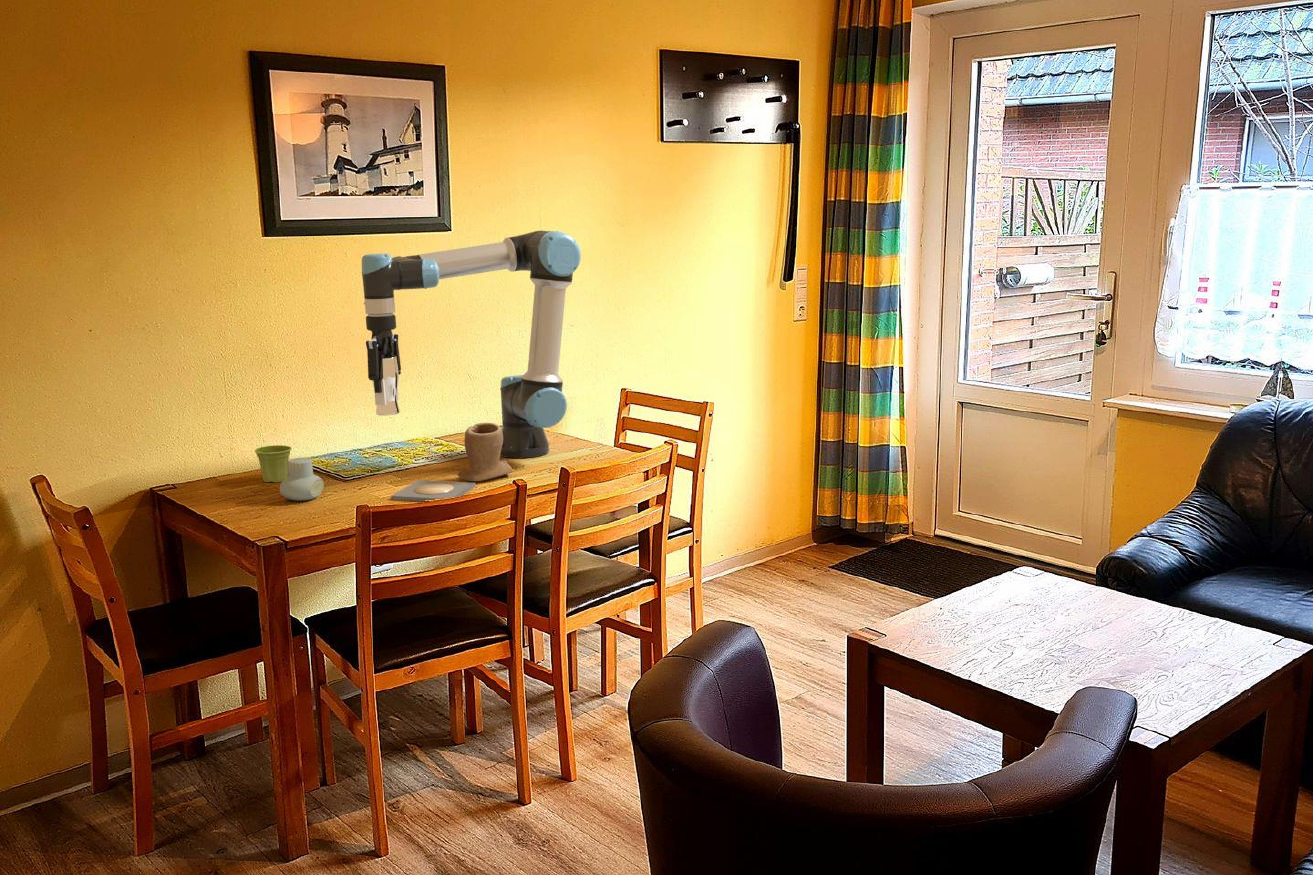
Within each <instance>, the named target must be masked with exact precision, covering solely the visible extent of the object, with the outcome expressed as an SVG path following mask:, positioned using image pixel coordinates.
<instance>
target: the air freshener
mask: <svg viewBox="0 0 1313 875" xmlns="http://www.w3.org/2000/svg"><path fill="white" fill-rule="evenodd" d="M313 468H314V467H313V459H311V458H310V457H295V458H291V459H289V461H288V477H287V478H285V479H284V480H283V481H282V482H281V483H280V486H279V493H280V494H281V496H283V497H284V498H285V499H288V500H290V501H296V502H301V501H302V502H303V501H304V502H305V501H311V500H314V499H316V498H317V497H319V496H320V495H321V493H322V492H323V490H324V487H325V486H324V484H325V483H324V480H323V479H322V478H321V477H320V476H319V475H316V474H314V469H313Z"/></svg>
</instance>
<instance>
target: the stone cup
mask: <svg viewBox="0 0 1313 875" xmlns="http://www.w3.org/2000/svg"><path fill="white" fill-rule="evenodd" d="M463 441H464V448H465V449H464V450H465V453H466V455H467V458H468V463H469V467H468V468H465V469H462V470H459V471H458V472H457V476H458V477H459V478H460V479H462V480H465V481H469V482H481V481H485V480H490V479H494V478H497V477H498V478H499V477H501V476H505V475H508V474H511V473H513V471H514V470H513V468H512V466H510V464H509V463H508V461H507V460H506V459H500V458H501V456H500V453H501V448H502V445H503V432H502V427H501V426H500V424H497V423H494V422H479V423H476V424H474V425H473V426H468V428H467V429H466V430H465V433H464V440H463Z"/></svg>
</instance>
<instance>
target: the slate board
mask: <svg viewBox="0 0 1313 875" xmlns="http://www.w3.org/2000/svg"><path fill="white" fill-rule="evenodd" d="M474 488H476V482H470V481H469V482H466V481H447V480H431V479H430V480H426V479H418V480H416V481H413V482H412V483H411V484H409V485H407V486H406V487H404V488H402V489H401V490H399V491H397V492H395V493H393V494H392V495H391V496H390V498H391V500H393V501H406V502H407V501H409V502H410V501H411V502H424V501H425V500H435V499H445V498H452V497H459V498H460V497H461V496H464V495H465V494H467V493H468V492H469V491H471V490H473V489H474Z"/></svg>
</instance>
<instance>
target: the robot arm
mask: <svg viewBox="0 0 1313 875" xmlns="http://www.w3.org/2000/svg"><path fill="white" fill-rule="evenodd" d="M581 255H582V254H581V249H580V246H579V244H578V242H577V241H576V240H575V239H574V238H573V237H572V236H571V235H569V234H568V233H564V232H562V231H558V230H557V231H553V230H552V231H551V230H535V231H531V232H527V233H524V234H519V235H514V236H510V237H504V239H503V241H501V242H493V243H487V244H481V245H474V246H467V247H460V248H453V249H448V250H447V249H446V250H441V251H433V252H428V253H420V254H416V255H415V254H413V255H407V256H406V255H405V256H394V257H392V256H391V254H390V253H368V254H365V255H363V256H362V257H361V276H362V285H363V286H362V287H363V295H364V296H363V298H364V301H363V306H364V309H365V310H364V311H365V314H366V315H367V316H365V324H366V325H365V326H366V330H367V331H370V332H371V339H370V340H366V341H365V347H366V354H367V355H366V356H367V378H368V379H369V381H372V380H373V381H374V386H373V391H374V403H375V405H376V406H377V405H386V394H385V381H384V380H382V378H383V359H385V358H392V357H393V355H395V356H396V358H397V364H398V373H399V376H400V375H401V374H402V372H401V371H402V366H401V358H400V357H401V356H400V349H399V335H398V334H397V333H396V334H395V333H394V334H393V332H392V331H393V330H395V329H397V320H396V318H397V317H396V315H395V314H394V313H395V312H396V305H395V294H394V293H395V291H401V290H417V289H419V290H420V289H425V290H427V289H431V288H435V287H437V286H438V285H439V282H440V280H445V279H451V278H456V277H457V278H458V277H464V276H469V275H470V276H471V275H477V274H482V273H491V272H495V271H496V272H497V271H502V270H508V271H509V272H511V273H513V272H519V271H528V272H530V275H529V280H530V281H531V282H532V283H533V285H534V292H533V303H532V315H531V316H532V318H531V327H530V338H529V340H530V341H529V350H528V352H529V353H528V364H527V371H526V372H525V373H524V374H520V375H519V374H517V375H511V376H505V377H502V378H501V380H500V389H499V390H500V401H501V402H500V404H501V420H502V427H501V429H502V432H503V445H502V448H501V453H500V457H504V458H511V459H512V458H513V459H522V458H523V459H524V458H525V459H526V458H527V459H528V458H535V457H541V456H544V455H547V454H548V453H549V452H550V444H549V440H548V438H547V435H546V432H545V429H549V428H552V427H554V426H556V425H557V424H559V423H560V422H561V421H562V420H563V419H564V417H565V414H566V413H567V408H568V403H567V399H566V396H565V395H564V393H563V386H564V385H563V384H564V380H563V379H562V377H561V375H559V368H560V366H559V365H560V357H561V345H562V335H563V322H564V313H565V302H566V301H565V300H566V290H567V288H568V287H569V286H570V285H572V284H573V274H574V273H575V271H576V270H577V269H578V267H579V265H580V263H581V257H582V256H581ZM399 399H400V397H399V390H398V391H397V401H398V400H399Z"/></svg>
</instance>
